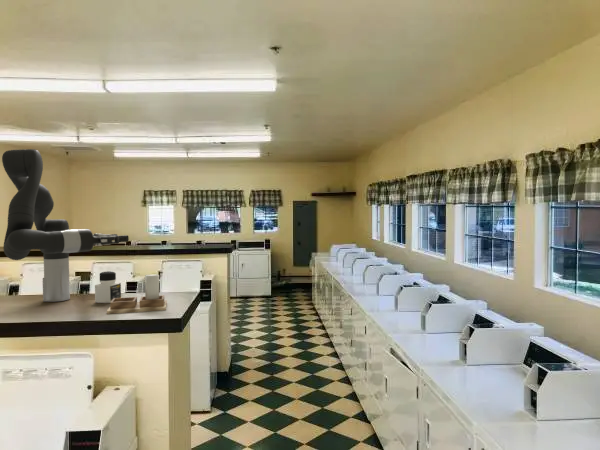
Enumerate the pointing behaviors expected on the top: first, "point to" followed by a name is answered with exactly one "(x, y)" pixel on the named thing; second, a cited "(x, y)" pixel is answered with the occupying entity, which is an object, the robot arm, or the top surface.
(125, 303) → the socket board
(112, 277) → the medicine bottle
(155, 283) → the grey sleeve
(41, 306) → the top surface
